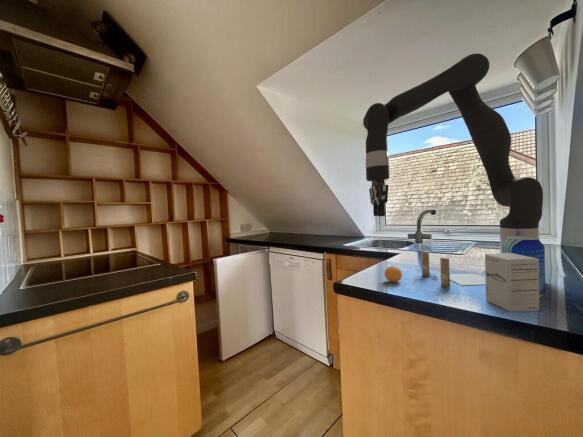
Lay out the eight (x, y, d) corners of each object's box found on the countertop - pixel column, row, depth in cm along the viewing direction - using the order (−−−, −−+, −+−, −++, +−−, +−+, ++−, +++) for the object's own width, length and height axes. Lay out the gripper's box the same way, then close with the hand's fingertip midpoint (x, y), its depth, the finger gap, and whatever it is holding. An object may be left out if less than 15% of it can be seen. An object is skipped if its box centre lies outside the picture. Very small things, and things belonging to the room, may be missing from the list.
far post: (427, 274, 90) (426, 250, 90) (430, 276, 88) (430, 252, 87) (421, 274, 90) (420, 251, 90) (424, 276, 88) (423, 252, 87)
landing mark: (474, 274, 88) (474, 273, 88) (500, 284, 76) (500, 283, 76) (440, 275, 88) (440, 274, 88) (461, 285, 76) (461, 284, 76)
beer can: (526, 289, 71) (525, 235, 70) (555, 300, 62) (554, 238, 62) (495, 289, 71) (494, 236, 71) (519, 300, 63) (518, 239, 63)
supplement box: (484, 300, 64) (483, 253, 64) (513, 299, 64) (512, 252, 63) (508, 312, 57) (507, 259, 56) (541, 311, 57) (540, 257, 56)
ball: (398, 279, 86) (397, 264, 86) (404, 284, 81) (404, 267, 80) (382, 280, 86) (382, 264, 86) (388, 284, 81) (387, 268, 81)
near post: (447, 285, 78) (446, 257, 77) (451, 287, 75) (450, 258, 75) (439, 285, 78) (438, 257, 77) (443, 287, 75) (442, 259, 75)
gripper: (396, 161, 75) (398, 216, 76) (381, 169, 89) (383, 215, 90) (371, 162, 75) (374, 217, 76) (361, 170, 90) (363, 216, 90)
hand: (379, 215), depth 83 cm, fingers open, 4 cm apart
